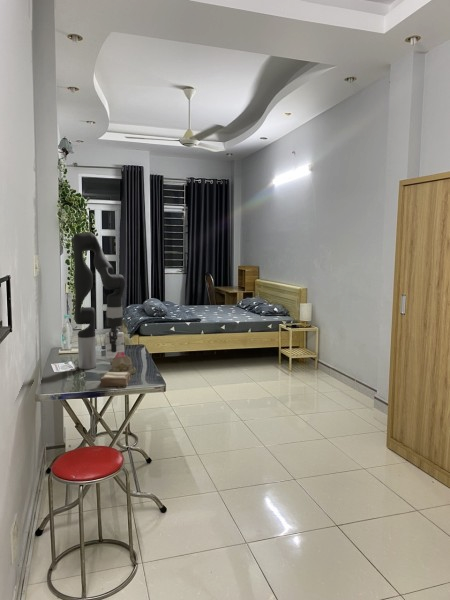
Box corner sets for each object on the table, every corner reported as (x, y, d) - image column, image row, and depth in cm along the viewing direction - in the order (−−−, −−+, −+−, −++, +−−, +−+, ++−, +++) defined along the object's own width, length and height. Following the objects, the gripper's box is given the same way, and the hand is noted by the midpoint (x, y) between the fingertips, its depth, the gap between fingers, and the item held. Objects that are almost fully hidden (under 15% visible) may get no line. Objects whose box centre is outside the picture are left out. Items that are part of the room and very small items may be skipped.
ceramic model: (109, 376, 237) (108, 357, 236) (106, 371, 247) (106, 353, 246) (136, 374, 242) (136, 355, 241) (133, 369, 252) (133, 351, 251)
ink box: (124, 355, 227) (124, 331, 226) (124, 357, 223) (123, 333, 221) (106, 356, 226) (105, 332, 224) (105, 358, 221) (105, 333, 220)
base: (106, 379, 231) (106, 371, 231) (130, 379, 231) (130, 371, 231) (100, 386, 219) (100, 378, 219) (126, 386, 219) (126, 377, 219)
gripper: (109, 314, 229) (110, 347, 231) (103, 318, 215) (103, 354, 217) (125, 314, 229) (125, 347, 231) (119, 318, 215) (120, 354, 217)
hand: (115, 350), depth 224 cm, fingers closed on ink box, 5 cm apart
